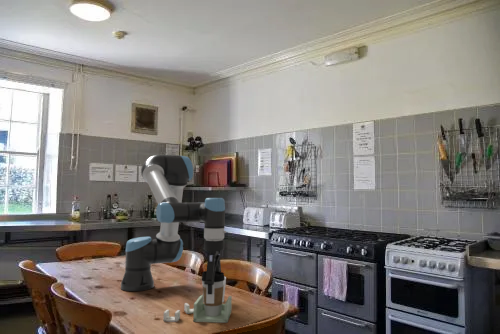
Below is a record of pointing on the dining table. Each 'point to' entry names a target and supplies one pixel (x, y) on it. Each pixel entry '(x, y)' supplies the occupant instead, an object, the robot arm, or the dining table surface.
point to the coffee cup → (218, 294)
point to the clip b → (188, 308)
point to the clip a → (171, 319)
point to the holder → (201, 317)
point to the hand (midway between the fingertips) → (213, 298)
